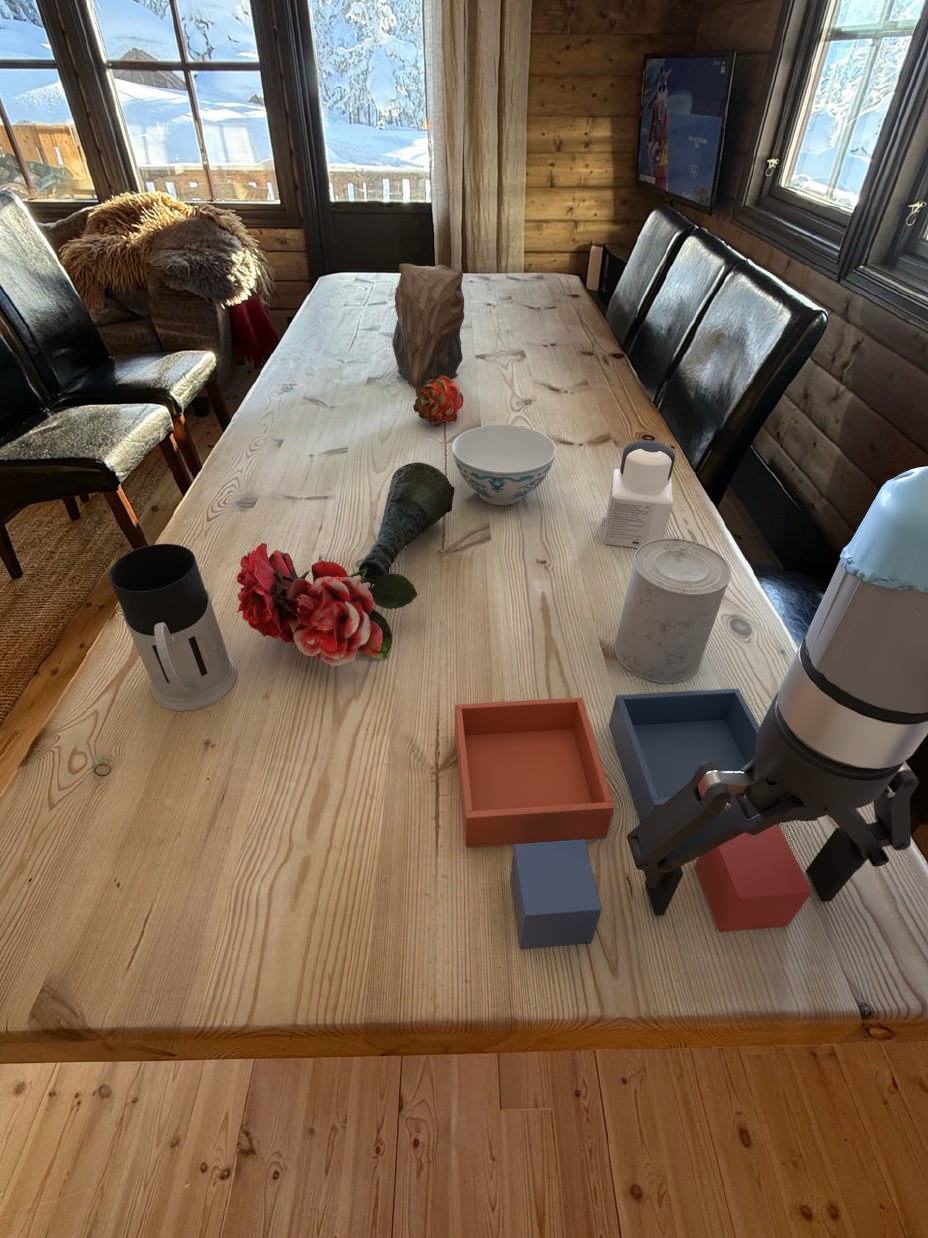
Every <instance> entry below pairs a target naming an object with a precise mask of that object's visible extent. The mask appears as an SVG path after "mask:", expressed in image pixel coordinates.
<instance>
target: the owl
mask: <svg viewBox="0 0 928 1238" xmlns="http://www.w3.org/2000/svg"><path fill="white" fill-rule="evenodd" d="M398 270H399V273H400V276H399V278H398V279H399V280H398V283H397V287H396V288H395V293H394V303H395V304H394V308H395V313H396V316H397V320H396V325H395V328H394V330H393V331H394V334H393V337H392V342H391V345H392V349H393V353H394V357H395V361H396V366H397V372H398V373H399V375H401V377H402V378H404V379H405V381H407V384H408V385H409V386H411V387H412V388H413V389H416V388H417V387H420V386H425V384H426V382H427V381H429V380H431V379H433V378H435V379H438V378H439V377H440V376H446V377H448V378H449V379H450V380H453V379H456V378H457V377H458V376H459V373H458V372H457V371H458V368H459V366H460V364H461V363H462V362H463V352H462V340H461V329H462V325H463V323H464V320H465V311H464V310H465V295H464V294H463V293H464V292H463V286H462V282H463V277H464V271H463V270H455V269H452V268H450V267H448V266H446V265H444V264H437V265H434V266H429V265H426V266H421V265H415V264H412V263H400V264H399V265H398Z"/></svg>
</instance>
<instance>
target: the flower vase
mask: <svg viewBox="0 0 928 1238" xmlns="http://www.w3.org/2000/svg"><path fill="white" fill-rule="evenodd" d="M455 488H456V487H455V486H453V485H452V484H451V482H450V480H449V478H448V476H447V475H446V474H444V473H443V472H442V471H441V470H440V469H439V468H437V467H436V466H433V465H431V464H428V463H424V462H420V461H419V462H418V461H416V462H411V463H407V464H405V465H402V466H400V467H399V468H398V469H396V470H395V471H394V473H393V474H392V477H391V480H390V485H389V491H388V493H387V498H386V503H385V507H384V512H383V515H382V519H381V523H380V529H379V532H378V536H377V540H376V542H374V544H373V545H372V546H371V548H370V550H369V553H368V554H367V555H366V556H365V557H364V558H363V560H362V561H361V563H360V565H359V567H358V571H356V572H354V573H352V574H350V575H349V574H348V572H347V571H346V569H345V568H344V567H343V566H342V565H340V564H339V563H337V562H335V561H326V560H323V559H321V560H320V561H318V562H315V563H313V564H312V565H311V567H310V569H309V570H307V571H306V572H304V574H302V575H301V576H298V574H297V571H296V568H295V566H294V561H293V559H292V557H291V555H290V553H288V552H283V551H280V550H277V549H275V550H274V551H272V553H271V554H270V556H268V551H267V549H268V544H267V542H261V543H260V544H258V545H257V547H256V548H255V549H252V550H251V552H250V551H249V552H247V555H243V556H242V557H241V559H240V561H239V565H240V572H238V574H237V576H236V582H237V583H238V584H239V585H242V587H240V592H239V593H237V598H238V601H239V602H240V603H239V605H238V609H237V611H236V614H238V613H240V612H241V613H242V615H241V617H242V620H243V621H245V622H248V626H249V627H250V628H251V629H253V630H256V631H258V633H260V635H261V636H262V637H264V638H265V637H266V636H269V637H270V638H273V639H275V640H276V639H278V638H280V639H281V640H282V641H284V642H285V643H289V644H293V645H296V647H297V649H298V650H299V651H300V652H301V653H303V655H304V656H308V657H313V656H316V658H317V660H318V661H323V662H324V663H326V664H328V665H329V666H332V667H334V666H335V667H341V666H343V665H347V664H349V663H353V662H354V661H355V660H356V658H357V655H358V653H359V654H360V655H362V657H366V658H368V659H372V660H386V659H387V658H388V654H389V652H390V651H391V648H392V645H393V633H392V629H391V626H390V625H389V622H388V621H387V619H386V618H385V617H384V616H383V615H382V614H381V613H380V612H379V611H377V610H376V609H374V604H375V605H376V606H378V607H380V608H382V609H387V610H392V609H394V610H396V609H400V608H401V609H402V608H403V607H405V606H407V605H409V604H411V603H412V602H413V601H414V600H415V599H416V598H417V597H418V591H417V590H416V587H415V585H414V584H413V583H412V582H411V581H410V580H409V579H408V578H407V577H406V576H404V575H401V574H399V573H395V572H392V573H390V569H391V566H392V565H393V564H394V563H395V561H396V559H397V557H398V555H400V553H401V552H402V551H403V550H405V548H406V547H407V546H409V545H410V544H412V543H413V542H414V541H415V540H417V538H418V537H420V536H421V535H423V534H424V533H425V532H427V531H428V530H429V529H430V528H431V527H432V526H433V525H435V524H436V523H438V522H439V521H440V520H441V519H442V518H443V517H445V516H446V515H447V514H449V513H450V512H452V510H453V502H454V497H455V493H456V492H455V491H456V489H455ZM310 572H311V575H312V583H311V582H310V581H309V580H307V579H306V578H307V576H308V575H309V573H310ZM357 576H360V578H356V577H357ZM363 584H365V585H366V586H365V585H363ZM368 584H369V586H368Z"/></svg>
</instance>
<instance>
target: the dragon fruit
mask: <svg viewBox="0 0 928 1238" xmlns="http://www.w3.org/2000/svg"><path fill="white" fill-rule="evenodd" d="M414 389H415V388H414ZM414 393H415V397H416V398H415V400H414V404H413V406H412V408H413V412H414V413H418V417H419V418H420V419H422V420H427V421H428V423H429V424H431V425H433V426H435V427H439V426H440V425H442V424H443V422H447V423H451V422H452V423H455V422H457V420H458V412H459V410H461V409H462V408H463V405H464V401H465V399H464V395H463V394H462V392H461V389H460V387H459V385H458V384H457V383H456V382H455V381H454V380H453V379H449V378H448V377H446V376H440V377H439V378H438V379H435V378H433V379H431V380H429V381H427V382H426V384H425V386H420V387H417V388H416V389H415V390H414Z"/></svg>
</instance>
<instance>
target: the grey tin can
mask: <svg viewBox="0 0 928 1238" xmlns="http://www.w3.org/2000/svg"><path fill="white" fill-rule="evenodd" d="M632 559H633V560H632V561H633V562H632V567H631V572H630V576H629V580H628V585H627V589H626V590H627V591H626V593H625V594H626V595H625V598H624V602H623V608H622V612H621V616H620V620H619V626H618V630H617V634H616V639H615V641H614V647H613V649H614V653H615V656H616V658H617V660H618V662H619V663H620V665H621V666H623V668H625V669H626V670H627V671H628V672H630V674H632V675H634V676H636V677H638V678H640V679H643V680H646V681H648V682H652V683H658V684H677V683H682V682H684V681H687V680H689V679H691V678H692V677H693V676H694V675H696V674H697V673H698V671H699V669H700V668H701V664H702V659H703V656H704V652H705V650H706V648H707V645H708V642H709V639H710V635H711V634H712V631H713V627H714V624H715V622H716V619H717V615H718V613H719V610H720V607H721V605H722V601H723V599H724V596H725V593H726V590H727V587H728V584H729V583H730V581H731V578H732V570H731V566H730V564H729V562H728V561H727V559H726V558H724V557H723V555H721V554H720V552H718V551H716V550H715V549H713V548H711V547H710V546H707V545H706V544H703V543H700V542H697V541H694V540H690V539H685V538H676V537H664V538H662V539H655V540H652V541H649V542H647V543H645V544H643V545H641V546H640V547H639V548H636V550H635V552H634V554H633V558H632Z"/></svg>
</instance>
